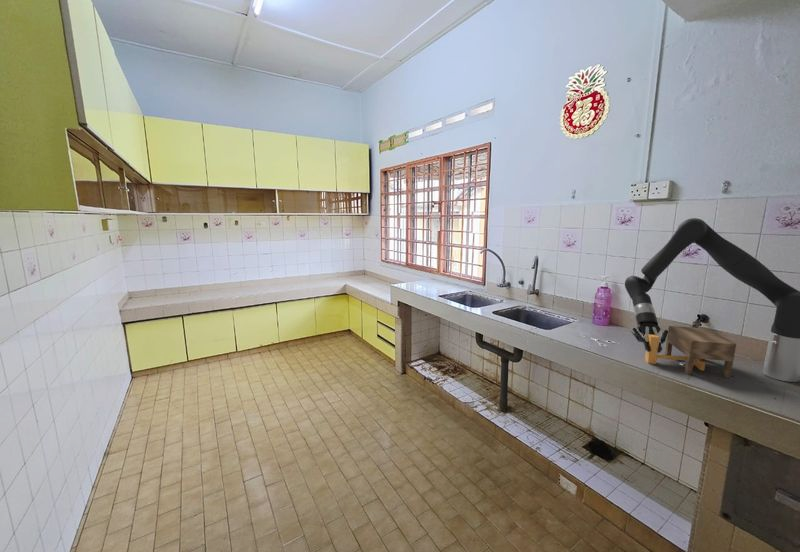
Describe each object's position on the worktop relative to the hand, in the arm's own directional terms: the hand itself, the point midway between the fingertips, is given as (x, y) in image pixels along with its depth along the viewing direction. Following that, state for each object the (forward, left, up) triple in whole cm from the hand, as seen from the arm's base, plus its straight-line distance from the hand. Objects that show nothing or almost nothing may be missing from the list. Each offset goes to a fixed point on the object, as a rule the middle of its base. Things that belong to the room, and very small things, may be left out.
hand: (654, 351), depth 139 cm
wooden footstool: (-16, -2, -6) cm, 17 cm away
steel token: (-13, -2, -6) cm, 15 cm away
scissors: (+16, -25, -6) cm, 30 cm away
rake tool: (-8, -2, -6) cm, 10 cm away
